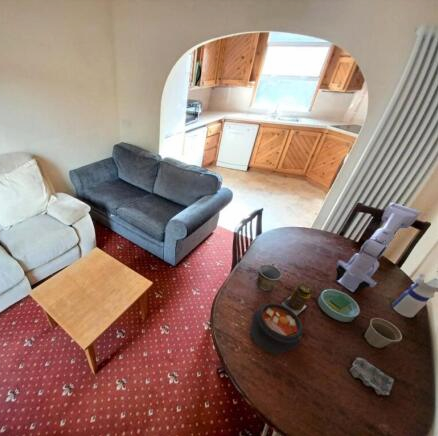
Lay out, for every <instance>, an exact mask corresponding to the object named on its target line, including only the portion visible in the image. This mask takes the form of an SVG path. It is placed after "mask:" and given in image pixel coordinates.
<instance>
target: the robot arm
mask: <svg viewBox="0 0 438 436" xmlns="http://www.w3.org/2000/svg"><path fill="white" fill-rule="evenodd" d="M421 214H422V212H421V211H420V210H416V209H414V208H411V207H407V206H404V205H401V204H399V203H395V202H390V203H389V205H388V206H387V207H386V209H385V210H384V212H383V214H382V216H381V220H382V221H383V222H384V226H383V227H381V228H378V229H376V230H375V231H374V233H373V234H371V236H370V237H369V239H366V240H365V242H364V243H363V244H362V245H361V247H360V250H359V252H358V253H357V252H356V253H354V254H353V256H352V257H351V258H350V259H349V260H348V262H346V261H343V260H338V261H337V263H336V265H337V267H336V278H335V281H336V282H337V283H338V284H339V285H341V286H342V287H344V288H345V289H346V290H349V291H350V292H351V293H354V294H357V293H358V292H360V291H361V290H364V289H367V288H369V287H370V288H374V287H376V285H377V284H378V282H376V281H375V280H374V279H373V278H372V276H373V275H374V274H375V273H376V271H378V268H379V267H380V262H379V260H378V259H380V258H381V257H382V256H383V255H384V254H385V252H386V251H387V250H388V248H389V246H390V243H391V242H392V241H393V240H394V238H395V237H396V235H395V233H396V232H397V231H399V230H400V229H408V228H410V227H411V226H412V225H413V224H414V223H415V222H416V220H417V219H418V218H419V216H420V215H421Z"/></svg>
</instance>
